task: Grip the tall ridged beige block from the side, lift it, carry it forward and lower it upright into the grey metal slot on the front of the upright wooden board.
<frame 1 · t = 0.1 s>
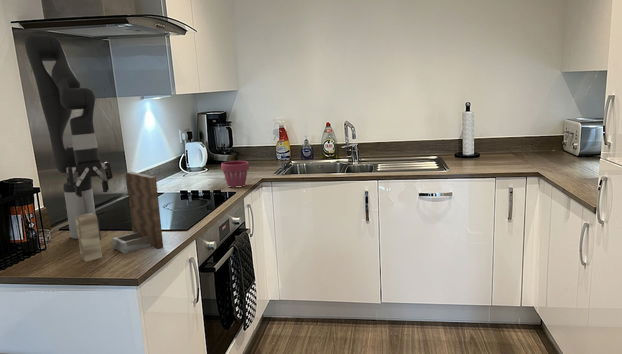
hand: (92, 194, 164), 17 cm above the worktop, tool pointing down, fingers open, 8 cm apart
plant pot: (236, 186, 253), on the worktop
upright wooden board: (133, 246, 161), on the worktop
ridged beige block: (91, 258, 152), on the worktop
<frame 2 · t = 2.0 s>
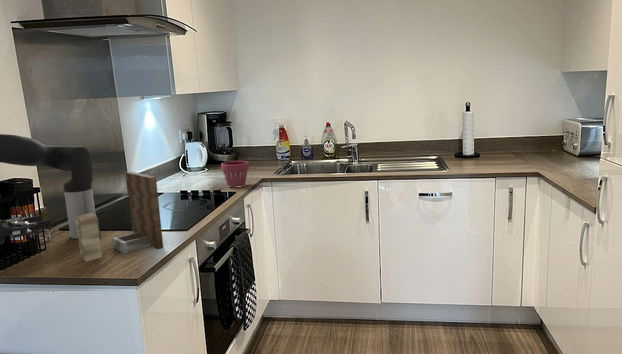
hand: (46, 221, 141), 15 cm above the worktop, tool horizontal, fingers open, 8 cm apart
nothing on the worktop moved.
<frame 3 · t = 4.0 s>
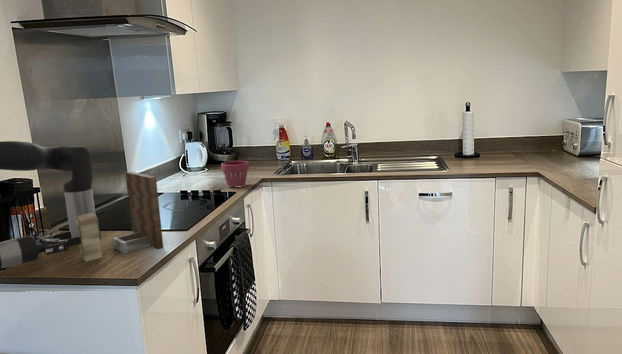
hand: (75, 237, 147), 8 cm above the worktop, tool horizontal, fingers open, 8 cm apart
nothing on the worktop moved.
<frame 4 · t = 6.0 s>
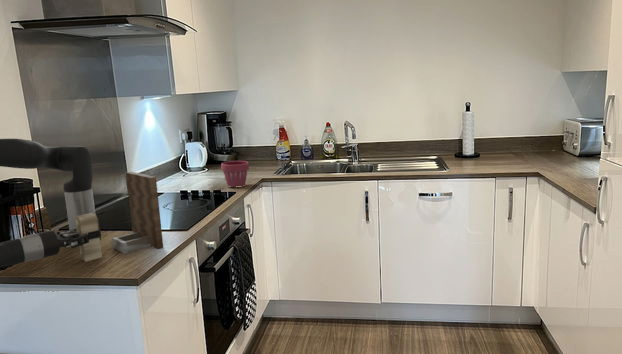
hand: (97, 231, 152), 8 cm above the worktop, tool horizontal, fingers closed on ridged beige block, 4 cm apart
ridged beige block: (91, 258, 152), on the worktop, touching gripper
everything else where it was.
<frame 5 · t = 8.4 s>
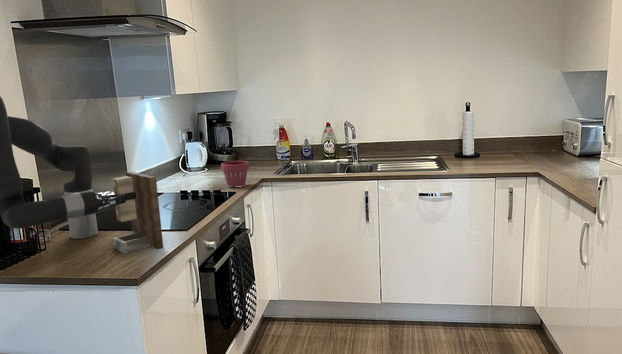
hand: (132, 194, 159), 18 cm above the worktop, tool horizontal, fingers closed on ridged beige block, 4 cm apart
ridged beige block: (126, 219, 158), point 10 cm above the worktop, touching gripper
everything else where it was.
when the fingers open (9 cm above the worktop, at t = 11.0 s): ridged beige block drops 1 cm, resting in upright wooden board.
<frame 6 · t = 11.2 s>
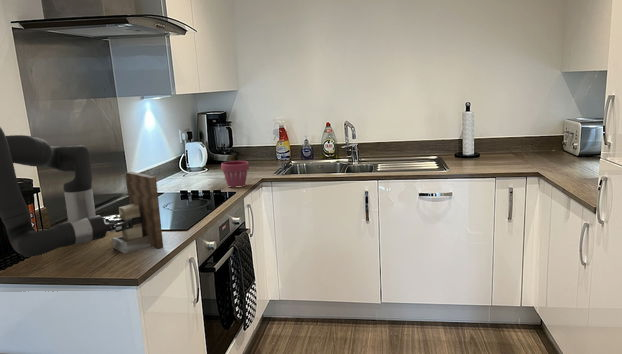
hand: (137, 217, 161), 10 cm above the worktop, tool horizontal, fingers open, 6 cm apart
ridged beige block: (134, 246, 161), resting in upright wooden board
everything else where it was.
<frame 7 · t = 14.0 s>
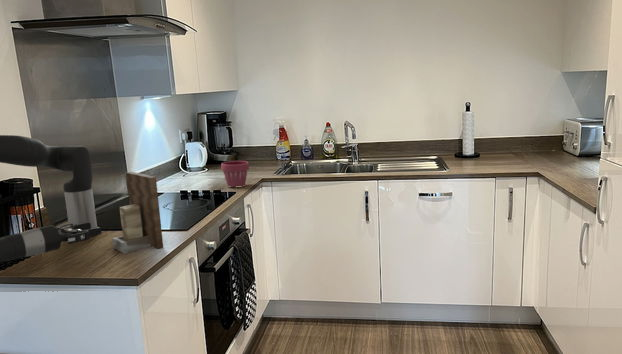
hand: (95, 227, 151), 9 cm above the worktop, tool horizontal, fingers open, 8 cm apart
nothing on the worktop moved.
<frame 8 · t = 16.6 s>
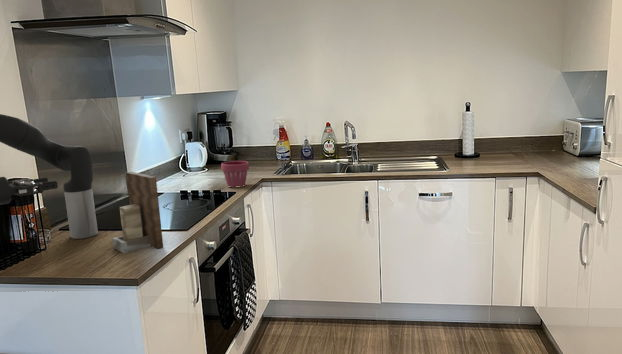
hand: (52, 182, 141), 26 cm above the worktop, tool horizontal, fingers open, 8 cm apart
nothing on the worktop moved.
at the end: ridged beige block 0.3 cm off-centre on the upright wooden board, point 0.0 cm above the upright wooden board's base; ridged beige block tilted 0°; the gripper is holding nothing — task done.
